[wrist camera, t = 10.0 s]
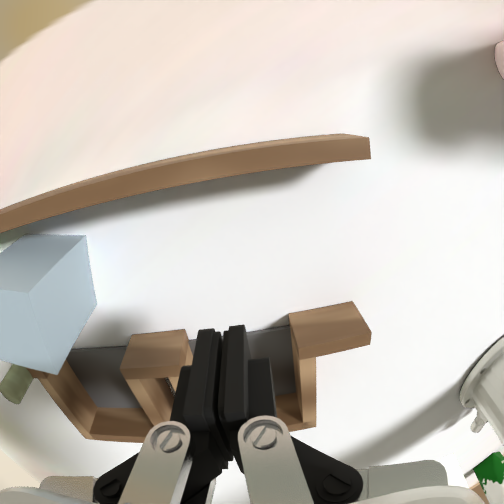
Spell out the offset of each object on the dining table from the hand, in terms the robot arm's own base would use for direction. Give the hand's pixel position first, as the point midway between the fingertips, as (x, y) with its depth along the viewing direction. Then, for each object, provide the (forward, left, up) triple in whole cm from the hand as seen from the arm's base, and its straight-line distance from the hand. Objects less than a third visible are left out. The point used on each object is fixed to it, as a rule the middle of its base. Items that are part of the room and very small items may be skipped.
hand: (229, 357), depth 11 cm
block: (+1, +11, -8) cm, 14 cm away
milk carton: (-71, -55, -8) cm, 91 cm away
